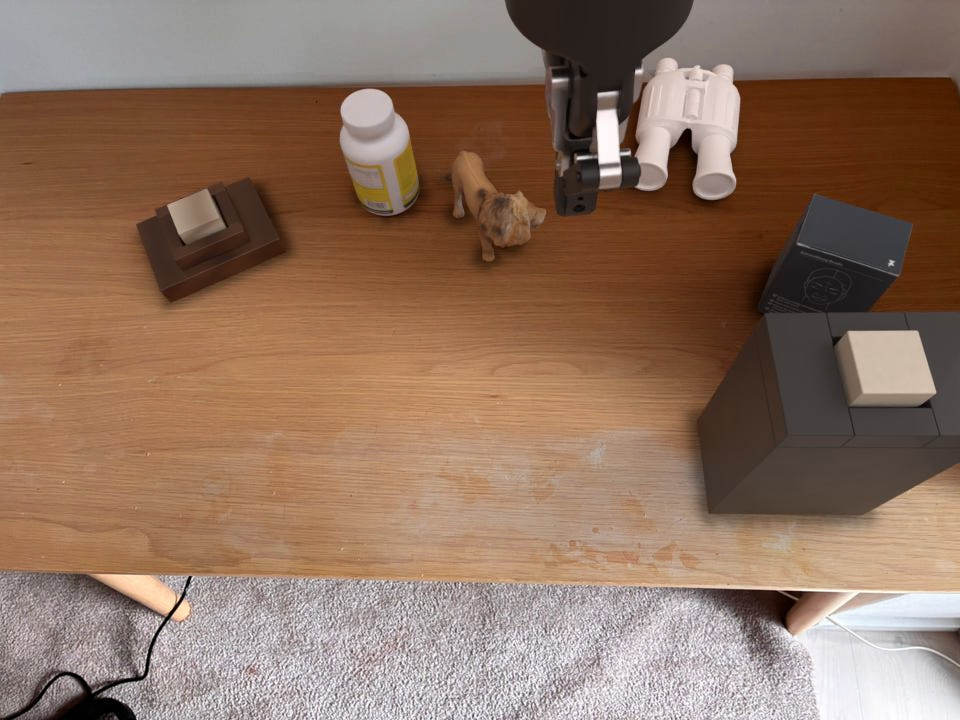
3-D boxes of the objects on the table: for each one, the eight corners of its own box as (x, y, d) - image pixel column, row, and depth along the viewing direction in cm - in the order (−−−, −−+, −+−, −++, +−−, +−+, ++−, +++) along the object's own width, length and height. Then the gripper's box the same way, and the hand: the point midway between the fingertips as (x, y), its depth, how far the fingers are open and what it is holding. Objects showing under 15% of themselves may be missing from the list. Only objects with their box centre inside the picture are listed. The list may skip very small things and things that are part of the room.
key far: (186, 245, 65) (178, 234, 63) (174, 216, 66) (166, 204, 65) (226, 228, 65) (219, 217, 64) (214, 200, 67) (206, 188, 66)
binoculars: (622, 190, 70) (629, 158, 65) (642, 79, 76) (649, 43, 72) (728, 206, 68) (742, 173, 64) (738, 91, 75) (751, 55, 71)
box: (856, 294, 63) (916, 222, 53) (841, 344, 61) (901, 278, 51) (771, 265, 65) (814, 190, 55) (753, 312, 63) (795, 242, 53)
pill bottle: (419, 167, 72) (403, 77, 62) (421, 216, 69) (404, 130, 59) (358, 172, 72) (331, 84, 62) (357, 221, 70) (329, 137, 59)
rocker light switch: (170, 303, 66) (150, 280, 63) (146, 237, 70) (126, 212, 66) (286, 252, 68) (273, 227, 65) (256, 190, 72) (242, 164, 68)
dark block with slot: (708, 513, 55) (787, 435, 39) (696, 420, 58) (764, 312, 42) (863, 515, 54) (1009, 436, 38) (841, 420, 58) (967, 311, 41)
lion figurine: (550, 261, 66) (555, 200, 58) (505, 289, 65) (503, 231, 57) (464, 168, 72) (458, 101, 64) (422, 192, 71) (410, 127, 63)
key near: (846, 407, 40) (862, 393, 38) (832, 347, 42) (847, 330, 40) (917, 408, 40) (937, 393, 38) (900, 346, 41) (918, 329, 40)
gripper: (486, -207, 27) (497, 127, 42) (523, 17, 21) (520, 310, 36) (678, -226, 27) (619, 115, 42) (770, -7, 21) (662, 297, 36)
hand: (573, 205), depth 39 cm, fingers closed
